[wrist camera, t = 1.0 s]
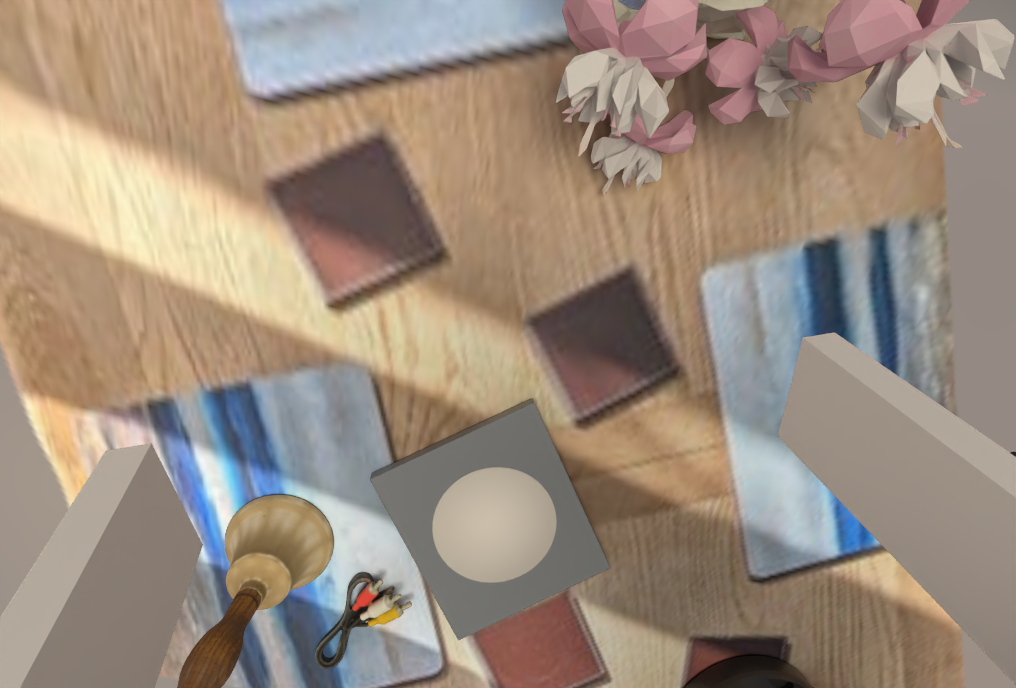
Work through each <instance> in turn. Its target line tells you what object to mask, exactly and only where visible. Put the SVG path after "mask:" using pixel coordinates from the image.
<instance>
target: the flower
mask: <svg viewBox="0 0 1016 688" xmlns="http://www.w3.org/2000/svg"><path fill="white" fill-rule="evenodd" d="M768 1H769V0H646V1H645V3H644V4H643V6H642V7H641V9H640V10H638V9H631V8H629V7H627V6H626V5H624V4H622V3H620V2H619V1H618V0H566V1H565V4H564V7H563V9H562V12H563V16H564V19H565V23H566V26H567V30H568V34H569V37H570V39H571V40H572V41H573V43H574V44H575V45H576V46H577V47H578V48H579V49H580V50H582V51H583V52H584V53H585V54H581V55H578V56H575V57H574V58H573V59H572V61H571V62H570V63H569V64H568V66H567V67H566V68H565V71H564V74H563V77H562V82H561V85H560V87H559V90H558V94H557V98H556V103H557V102H559V101H560V100H562V99H564V98H565V97H567V96H568V97H569V98H570V99H571V105H572V106H570V107H569V108H568V109H566V110H565V111H564V112H562V113H570V115H569V116H568V117H567V118H566V119H565V120H564V121H563V122H570V123H572V115H574V114H575V113H577V112H580V111H581V109H582V111H581V114H580V117H579V120H578V121H581V122H588V123H590V124H589V126H588V128H587V130H586V132H585V135H584V137H583V139H582V141H581V143H580V149H579V156H580V155H581V154H582V153H583V152H584V151H585V150H586V149H587V146H588V143H589V140H590V137H591V134H592V132H593V129H594V126H595V124H596V123H597V122H599V121H600V120H602V121H603V120H604V119H605V118H606V115H607V113H608V114H609V115H610V116H611V124H610V126H611V134H610V135H609V137H602V138H600V139H599V140H597V141H596V142H594V145H593V149H592V153H591V160H592V163H593V164H594V163H596V162H598V161H599V164H598V165H597V166H596V167H595V168H594V169H599V170H600V169H601V168H600V167H601V165H602V164H603V167H602V170H603V172H604V173H605V175H606V176H607V178H608V179H607V180H608V181H607V183H606V184H605V186H604V188H603V190H602V192H603V196H604V195H605V194H606V192H607V190H608V188H609V186H610V184H611V183H612V181H613V179H614V177H615V175H616V173H617V172H619V171H620V170H622V169H623V168H624V172H623V175H622V180H623V184H624V186H625V187H626V183H627V184H628V186H629V187H630V181H631V180H632V179H633V178H635V177H637V191H639V189H640V187H641V185H642V184H643V182H644V180H645V183H649V182H656V181H658V180H659V179H660V177H661V165H662V158H661V156H660V155H659V153H658V151H660V152H662V153H665V154H673V153H684V152H685V150H686V149H687V148H688V147H689V146H690V145H691V144H692V143H693V140H694V135H695V131H696V126H695V125H693V114H692V113H690V112H689V111H687V110H683V111H682V112H681V113H679V114H678V115H677V116H675V117H674V118H673V119H671V120H670V121H669V122H667V123H666V124H664V125H661V126H659V125H660V123H661V122H662V120H663V119H664V118H665V116H666V115H667V114H668V112H669V108H668V104H667V100H666V97H667V96H668V94H669V92H670V91H671V89H672V87H673V86H674V81H675V77H677V76H679V75H681V74H683V73H685V72H687V71H689V70H691V69H692V68H693V67H695V66H696V65H697V64H698V63H700V62H701V61H702V60H704V59H705V58H707V66H706V74H705V75H706V76H707V77H708V78H709V79H710V80H711V81H712V82H713V83H714V84H715V85H716V86H717V87H731V88H741V89H739V90H737V91H735V92H733V93H732V94H730V95H728V96H726V97H724V98H722V99H720V100H718V101H716V102H714V103H712V104H710V105H708V107H709V109H710V111H711V113H712V114H713V115H714V116H715V117H716V118H717V119H718V120H719V121H720V122H721V123H723V124H730V123H737V122H741V121H742V120H743V119H744V118H745V116H746V115H747V114H748V113H749V112H753V111H759V110H762V109H763V110H764V112H765V113H766V115H767V117H778V118H789V115H790V113H789V111H788V109H787V108H786V106H785V104H784V103H783V101H800V100H801V99H802V100H805V101H808V102H811V103H812V100H811V98H810V95H809V93H808V91H801V89H800V88H799V87H798V86H802V87H804V88H806V89H808V90H810V91H812V90H811V89H809V88H807V87H806V86H816V84H815V82H838V81H840V80H842V79H845V78H847V77H849V76H851V75H854V74H856V73H858V72H861V71H863V70H865V69H868V68H870V67H872V66H875V65H876V66H875V67H874V69H873V70H872V72H871V73H870V75H869V77H868V78H867V80H866V81H865V83H866V88H867V89H866V91H865V92H864V94H863V95H862V97H861V98H860V100H859V101H858V103H857V105H856V106H857V109H858V113H859V116H860V120H861V123H862V126H863V130H864V132H865V133H867V134H870V135H872V136H874V137H877V138H879V139H882V140H884V139H885V136H886V133H887V130H888V127H889V128H890V130H891V131H897V132H898V133H897V139H896V144H895V146H896V145H897V144H898V143H899V142H900V141H901V140H902V139H903V138H904V137H905V138H907V134H908V126H915V129H919V130H920V123H919V122H922V123H926V124H927V122H928V121H929V120H930V119H931V120H932V122H933V124H934V126H935V127H936V128H937V130H938V132H939V134H940V136H941V138H942V140H943V142H944V144H945V145H946V147H952V148H959V147H962V146H961V145H959V144H957V143H955V142H954V141H952V140H950V139H949V137H948V135H947V133H946V131H945V130H944V128H943V126H942V124H941V122H940V120H939V118H938V116H937V114H936V112H935V110H934V108H933V102H934V100H935V97H936V95H939V96H941V97H944V98H947V99H951V101H955V100H960V101H961V103H962V105H963V106H965V105H968V104H971V103H975V102H978V101H979V100H977V99H976V98H974V97H978V96H984V95H986V94H984V93H982V92H980V91H978V90H975V89H973V88H972V85H973V80H974V75H975V71H976V69H975V68H977V69H979V70H982V71H984V72H987V73H989V74H991V75H994V76H996V77H999V78H1001V79H1004V80H1005V78H1004V76H1003V74H1002V72H1001V70H1000V69H1003V70H1004V69H1005V67H1006V64H1007V61H1008V58H1009V55H1010V51H1011V48H1012V45H1013V41H1014V37H1015V36H1014V35H1013V34H1012V33H1010V31H1008V30H1007V29H1006V28H1005V27H1004V26H1003V25H1002V24H1001V23H1000V22H999V21H998V20H997V19H991V20H982V21H972V22H963V23H954V24H946V23H947V22H948V21H949V20H950V19H951V18H952V17H953V16H954V15H955V14H956V13H957V12H959V11H960V10H961V9H962V8H963V7H964V6H965V5H966V4H967V3H968V2H969V1H970V0H922V2H921V4H920V7H919V10H918V12H917V15H915V13H914V11H913V9H912V7H910V6H908V5H907V4H906V3H905V1H904V0H842V1H841V2H840V3H839V4H838V5H837V6H836V7H835V8H834V9H833V10H832V11H831V12H830V13H829V14H828V17H827V22H826V25H825V28H824V32H823V34H822V33H820V32H818V31H816V30H815V29H813V28H811V27H809V26H806V27H801V28H795V29H793V31H792V32H791V34H790V35H789V37H787V34H786V30H785V27H784V23H783V21H777V19H776V14H775V12H773V11H772V10H770V9H769V8H767V7H765V6H764V4H765V3H767V2H768ZM744 28H745V29H746V31H747V32H748V34H749V35H750V37H751V39H752V40H753V42H754V44H755V45H756V47H757V48H758V49H757V48H756V47H755V46H754V45H752V44H751V43H748V42H744V41H741V40H743V38H744V36H745V29H744ZM706 36H708V37H711V38H729V39H727V40H725V41H724V42H722V43H720V44H719V45H717V46H715V47H714V48H712V49H711V50H709V48H708V47H707V44H706ZM733 38H734V39H733ZM737 39H740V40H737ZM820 39H821V41H820V44H819V46H820V48H819V49H817V50H813V49H811V48H810V47H811V46H812V45H813V44H815V43H816V42H817V41H819V40H820ZM820 51H822V52H820ZM653 77H656V78H660V79H664V80H666V81H665V83H664V85H663V88H662V89H661V88H660V86H659V85H658V83H657V82H656V81H655V79H654V78H653ZM812 92H813V91H812ZM814 93H815V92H814ZM901 124H902V125H903V131H902V126H901ZM579 156H578V157H579ZM626 181H627V182H626Z"/></svg>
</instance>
